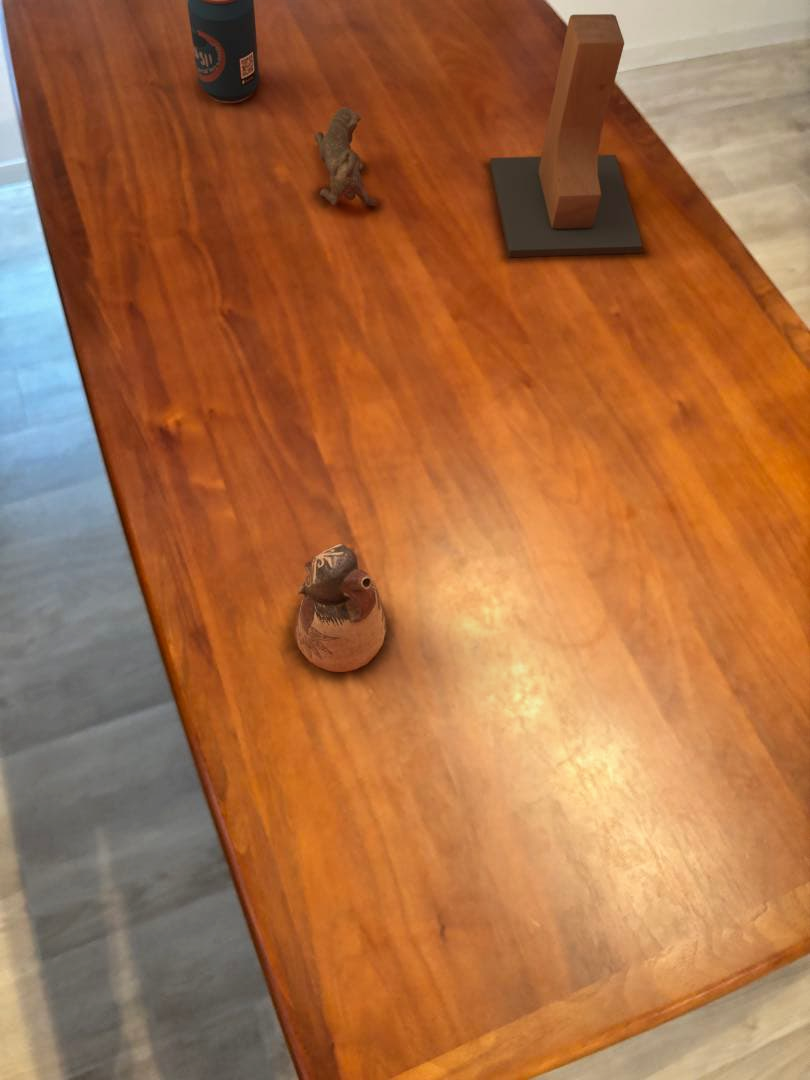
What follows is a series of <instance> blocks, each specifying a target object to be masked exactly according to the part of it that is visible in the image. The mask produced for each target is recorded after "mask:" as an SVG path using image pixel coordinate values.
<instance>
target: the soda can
mask: <svg viewBox="0 0 810 1080" xmlns="http://www.w3.org/2000/svg"><path fill="white" fill-rule="evenodd" d="M186 3H187V12H188V18H189V25H190V33H191V40H192V48H193V55H194V63H195V69H196V76H197V77H196V78H197V82H198V84H199V86H200V87H201V89H202V90H203V91H204V92H205V93H206V95H207V96H208V97H209V98H211V99H212V100H214V101H216V102H218V103H223V104H235V103H236V104H237V103H240V102H243V101H246V100H247V99H248V98H250V97H251V96H252V95H253V93H254V92H255V90H256V89H257V87H258V85H259V82H260V78H261V75H260V63H259V51H258V50H259V49H258V38H257V26H256V25H257V24H256V15H255V2H254V0H186Z"/></svg>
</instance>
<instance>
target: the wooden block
mask: <svg viewBox="0 0 810 1080" xmlns="http://www.w3.org/2000/svg"><path fill="white" fill-rule="evenodd" d="M563 42H564V43H563V46H562V52H561V57H560V63H559V67H558V71H557V77H556V82H555V86H554V92H553V96H552V101H551V105H550V110H549V116H548V120H547V125H546V129H545V135H544V139H543V143H542V150H541V155H540V157H541V159H540V164H539V169H538V172H539V177H540V181H541V185H542V190H543V194H544V198H545V202H546V206H547V211H548V215H549V219H550V223H551V227H552V228H553V229H569V228H591V227H592V226H593V223H594V220H595V216H596V212H597V209H598V205H599V202H600V198H601V190H600V185H599V179H598V155H599V149H600V143H601V136H602V132H603V127H604V123H605V119H606V116H607V112H608V108H609V105H610V101H611V96H612V93H613V88H614V85H615V82H616V78H617V73H618V70H619V66H620V62H621V58H622V54H623V50H624V46H625V40H624V36H623V33H622V31H621V28H620V25H619V21H618V19H617V15H615V14H612V13H605V14H604V13H600V14H596V13H595V14H594V13H593V14H592V13H591V14H590V13H589V14H581V13H580V14H571V15H570V16H569V18H568V23H567V28H566V32H565V38H564V41H563Z"/></svg>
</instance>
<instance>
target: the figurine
mask: <svg viewBox="0 0 810 1080" xmlns="http://www.w3.org/2000/svg"><path fill="white" fill-rule="evenodd" d="M304 567H305V569H306V573H307V575H306V577H305V580H304V582H303V583H302V584H301V585H300V586H299V588H298V590H297V593H298V594H299V595H301V594H302V595H303V597H302V600H301V602H300V606H299V610H298V612H297V616H296V621H295V626H294V638H295V641H296V644H297V646H298V648H299V650H300V651H301V653H302V654H303V655H304V657H305V658H306V659H307V660H308V661H309V663H312V664H313V665H315V666H316V667H317V668H320V669H323V670H324V671H329V672H334V673H345V672H350V671H354V670H357V669H360V668H362V667H364V666H366V665H368V664H369V663H370V662H371V660H373V658H374V657H376V656H377V654H378V652H379V650H380V649H381V647H382V646H383V644H384V640H385V636H386V632H387V625H386V624H387V622H386V616H385V611H384V607H383V603H382V600H381V596H380V594H379V591H378V589H377V586H376V583H375V580H373V578H372V577H371V576H370V575H369V574H368V573H367V572H366V571H364V570H363V569H361V568H359V563H358V558H357V555H356V553H355V552H354V550H352V549H351V548H349V547H347V546H346V545H344V544H342V543H338V544H335V545H334V546H331V547H329V548H327V549H324V550H323V551H321V552H320V553H318V554H317V555H316V556H315V557H314V558H313V559H312V560H309V561H307V562H305V564H304Z"/></svg>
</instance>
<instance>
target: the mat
mask: <svg viewBox="0 0 810 1080" xmlns="http://www.w3.org/2000/svg"><path fill="white" fill-rule="evenodd" d="M540 159H541V156H517V157H516V156H514V157H490V160H489V169H490V174H491V178H492V182H493V189H494V192H495V193H494V194H495V198H496V202H497V208H498V212H499V218H500V223H501V227H502V232H503V236H504V241H505V246H506V251H507V256H508V258H528V257H533V258H534V257H558V256H559V257H562V256H589V255H590V256H591V255H592V256H593V255H621V254H622V255H623V254H641V253H642V250H643V247H644V245H643V242H642V238H641V235H640V232H639V228H638V225H637V222H636V219H635V215H634V212H633V209H632V205H631V202H630V198H629V195H628V191H627V188H626V185H625V182H624V178H623V175H622V172H621V169H620V164H619V162H618V159H617V155H616V154H603V155H602V154H600V155H599V154H598V179H599V185H600V190H601V198H600V202H599V205H598V209H597V212H596V216H595V220H594V223H593V226H592V227H591V228H569V229H553V228H552V227H551V223H550V219H549V215H548V211H547V206H546V202H545V198H544V194H543V190H542V185H541V181H540V177H539V172H538V169H539V164H540Z"/></svg>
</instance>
